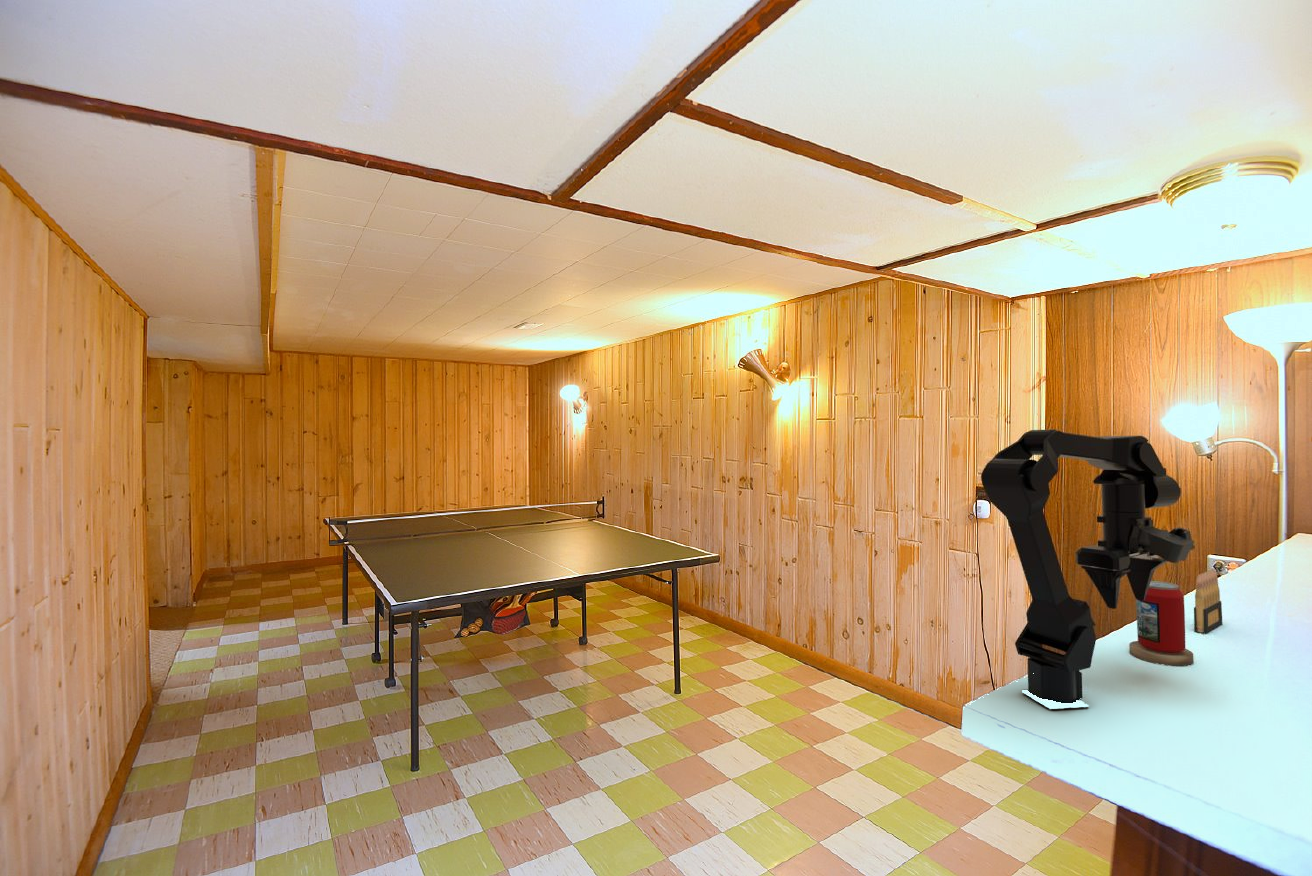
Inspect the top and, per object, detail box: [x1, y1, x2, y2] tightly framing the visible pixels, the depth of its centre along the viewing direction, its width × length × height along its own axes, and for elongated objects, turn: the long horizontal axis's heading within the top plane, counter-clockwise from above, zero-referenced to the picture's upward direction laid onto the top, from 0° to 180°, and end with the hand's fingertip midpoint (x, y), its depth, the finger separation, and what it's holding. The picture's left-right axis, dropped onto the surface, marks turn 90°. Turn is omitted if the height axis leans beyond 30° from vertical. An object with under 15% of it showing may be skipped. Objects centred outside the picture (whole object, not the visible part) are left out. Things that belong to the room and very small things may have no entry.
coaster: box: [1128, 640, 1194, 667], centre depth 109 cm, size 9×9×2 cm
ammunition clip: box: [1193, 568, 1223, 635], centre depth 125 cm, size 11×2×12 cm, turn 123°
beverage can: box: [1135, 580, 1186, 654], centre depth 109 cm, size 7×7×12 cm
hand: (1126, 604), depth 99 cm, fingers open, 9 cm apart
